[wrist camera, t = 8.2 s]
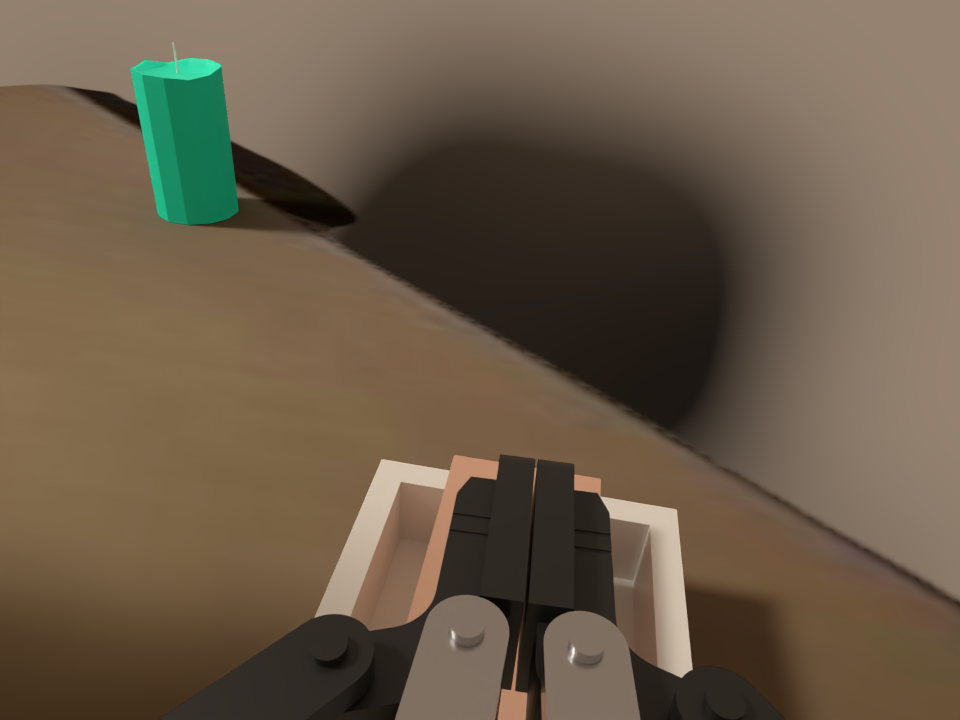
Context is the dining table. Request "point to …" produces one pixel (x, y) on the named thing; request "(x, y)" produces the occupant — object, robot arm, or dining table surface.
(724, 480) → the dining table surface
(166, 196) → the candle
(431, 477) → the tray
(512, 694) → the terracotta block
